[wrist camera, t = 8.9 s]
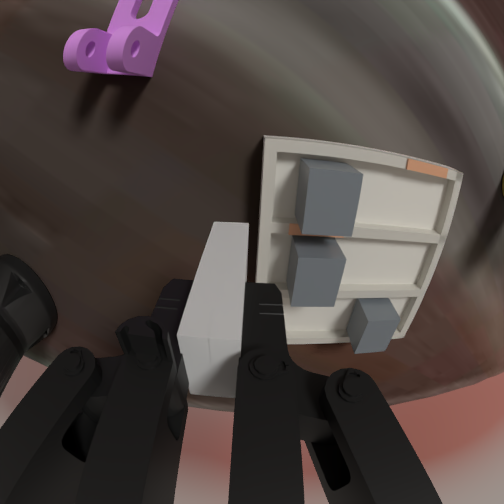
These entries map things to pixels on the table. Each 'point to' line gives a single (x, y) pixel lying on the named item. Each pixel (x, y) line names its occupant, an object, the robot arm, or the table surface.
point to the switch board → (358, 231)
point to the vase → (503, 185)
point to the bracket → (122, 41)
